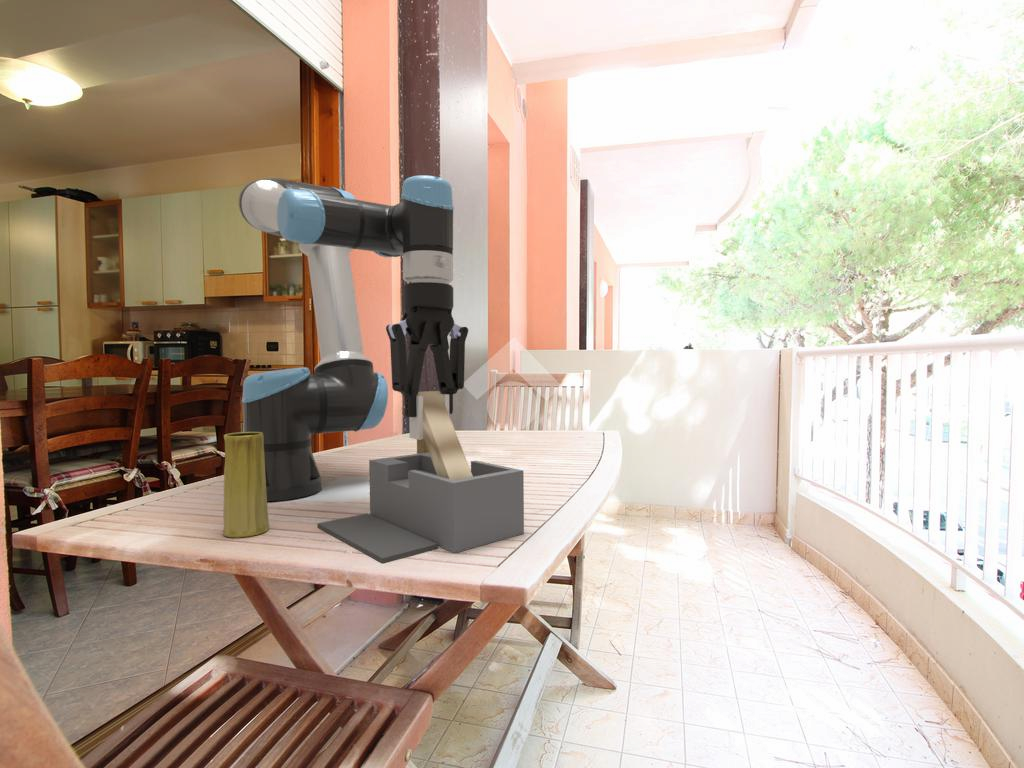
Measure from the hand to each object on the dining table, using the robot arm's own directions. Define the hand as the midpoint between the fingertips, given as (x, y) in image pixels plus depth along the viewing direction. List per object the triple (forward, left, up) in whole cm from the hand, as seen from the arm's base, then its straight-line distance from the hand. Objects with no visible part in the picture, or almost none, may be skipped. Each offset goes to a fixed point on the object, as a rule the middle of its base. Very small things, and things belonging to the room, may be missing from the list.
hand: (429, 436), depth 86 cm
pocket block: (+4, 0, -13) cm, 13 cm away
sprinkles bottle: (-11, +7, -13) cm, 19 cm away
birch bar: (+3, 0, -2) cm, 3 cm away
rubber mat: (+2, -11, -13) cm, 17 cm away
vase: (-13, -23, -13) cm, 30 cm away
